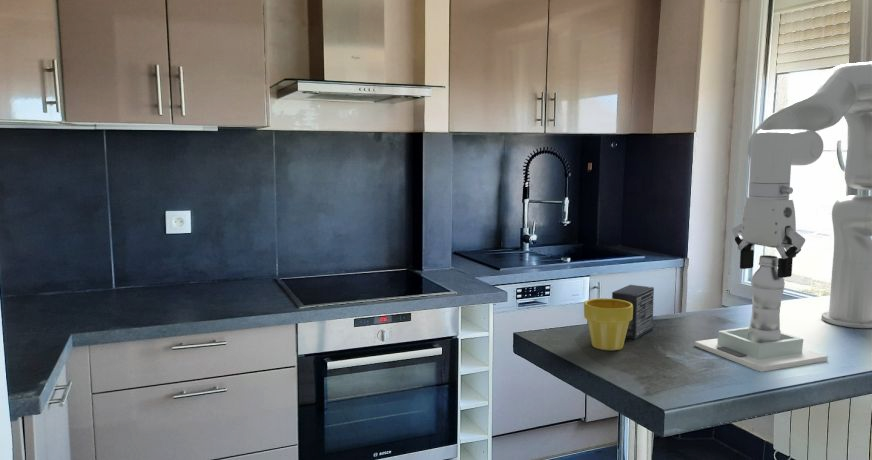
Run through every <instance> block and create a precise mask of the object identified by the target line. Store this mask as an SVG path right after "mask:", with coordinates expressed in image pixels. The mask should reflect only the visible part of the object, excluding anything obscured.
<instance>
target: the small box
mask: <svg viewBox="0 0 872 460" xmlns="http://www.w3.org/2000/svg"><path fill="white" fill-rule="evenodd" d="M654 289H655V288H654V287H653V286H643V285H635V284H629V285H627V286H624V287H621V288H619V289H617V290H615V291H613V292H611V299H618V300H624V301H628V302H630V303H632V305H633V317H632V320H631V321H629V325H628V328H627V332H626V336H625V339H633V340H637V339H639V338H640V337H643V336H644V335H646V334H648V333H649V332H651V331H653V330H654V295H655V294H654Z"/></svg>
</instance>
